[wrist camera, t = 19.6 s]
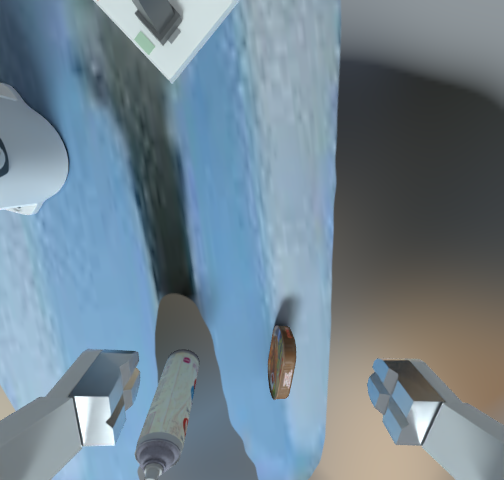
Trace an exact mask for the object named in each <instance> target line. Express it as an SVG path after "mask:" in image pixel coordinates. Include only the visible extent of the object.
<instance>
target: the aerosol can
mask: <svg viewBox="0 0 504 480" xmlns="http://www.w3.org/2000/svg"><path fill="white" fill-rule="evenodd" d="M198 368H199V358H198V356H197V355H196V354H195V353H193V352H192V351H189V350H177V351H174V352H173V353H172V354H170V356H169V357H168V360H167V362H166V365H165V368H164V371H163V373H162V376H161V379H160V382H159V384H158V387H157V390H156V393H155V395H154V398H153V401H152V404H151V406H150V409H149V412H148V415H147V417H146V420H145V423H144V426H143V428H142V431H141V434H140V437H139V439H138V442H137V446H136V451H135V458H136V460H137V461H138V463H139V464H140V467H141V468H142V470H143V472H144V474H145V479H144V480H158V477H159V476H160V475H161V474H163V473H164V472H165V471H167V470H168V469H169V468H170V467H172V466H174V465H175V464H176V463H177V462H178V461H179V459H180V455H181V453H182V450H183V445H184V440H185V435H186V430H187V425H188V420H189V415H190V409H191V404H192V399H193V394H194V389H195V384H196V378H197V374H198Z"/></svg>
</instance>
